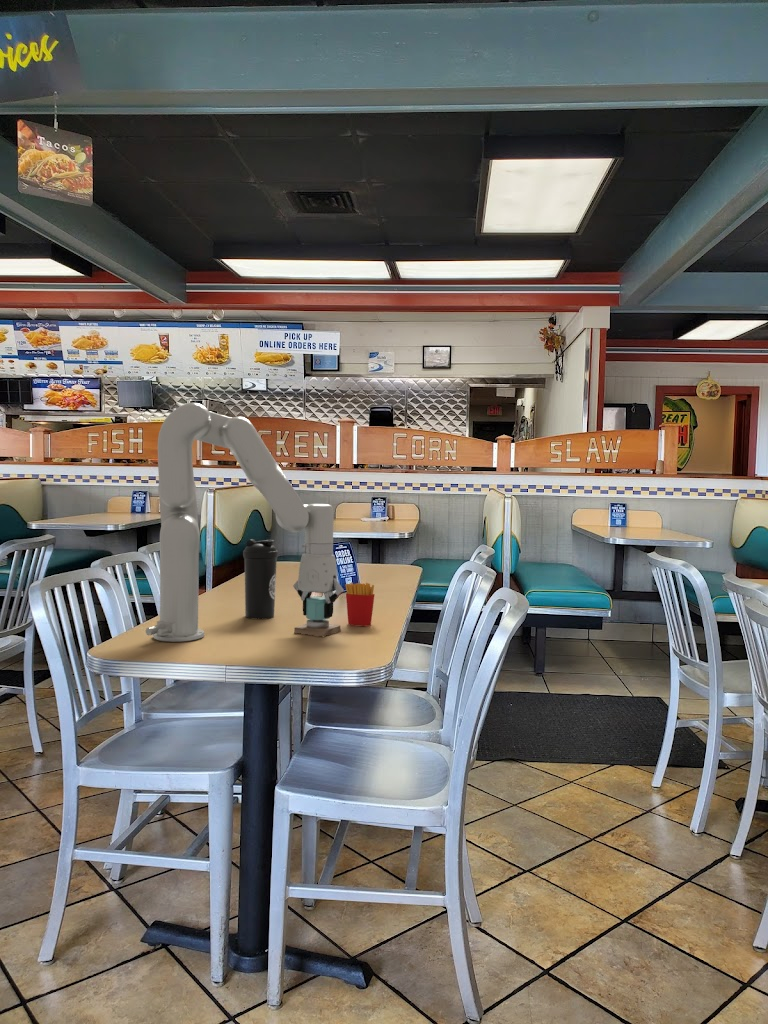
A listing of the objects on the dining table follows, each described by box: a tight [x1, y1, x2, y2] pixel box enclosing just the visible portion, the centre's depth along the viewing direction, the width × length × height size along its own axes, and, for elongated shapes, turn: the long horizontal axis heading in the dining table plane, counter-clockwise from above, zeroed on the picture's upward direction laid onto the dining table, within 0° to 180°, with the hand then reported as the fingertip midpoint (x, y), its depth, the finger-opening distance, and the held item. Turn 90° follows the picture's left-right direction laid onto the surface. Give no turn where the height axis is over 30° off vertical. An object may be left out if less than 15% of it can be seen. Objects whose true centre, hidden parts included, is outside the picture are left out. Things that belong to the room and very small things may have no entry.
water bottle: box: [242, 538, 279, 620], centre depth 212 cm, size 10×10×23 cm
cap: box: [305, 596, 331, 620], centre depth 192 cm, size 6×6×5 cm
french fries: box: [345, 582, 375, 627], centre depth 203 cm, size 8×4×12 cm, turn 81°
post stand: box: [293, 619, 341, 638], centre depth 192 cm, size 9×9×7 cm
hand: (317, 615), depth 192 cm, fingers closed on cap, 6 cm apart
